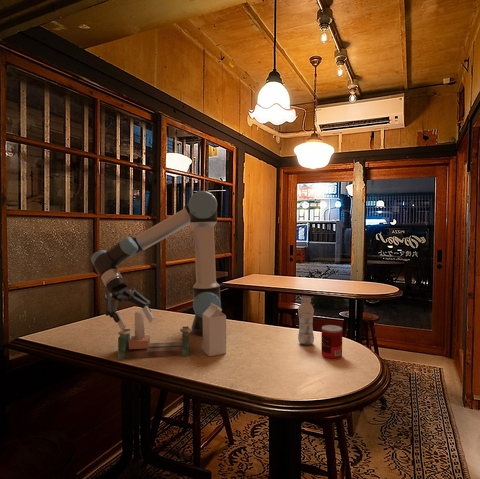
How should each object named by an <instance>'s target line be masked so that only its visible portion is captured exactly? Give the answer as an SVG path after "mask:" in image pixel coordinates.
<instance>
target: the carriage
mask: <svg viewBox="0 0 480 479" xmlns="http://www.w3.org/2000/svg"><path fill="white" fill-rule="evenodd" d="M150 336H151V335H149V334H145V314H144V312H143V311H136V312H134V335H131V336H130V341H129V349H144V348H148V347H149V344H150V343H151V337H150Z"/></svg>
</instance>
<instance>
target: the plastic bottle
mask: <svg viewBox="0 0 480 479" xmlns="http://www.w3.org/2000/svg"><path fill="white" fill-rule="evenodd" d="M311 302H312V299H311V296H308V295H304V296H301V303H300V304H299V306H298V307H297V308H298V309H297V311H298V312H297V313H298V322H299V328H298V329H299V330H298V334H297V339H298V342H299V344H301V345H304V346H305V345H306V346H307V345H308V346H309V345H312V344H314V341H315V335H314V329H313V321H314V311H315V308H314V307H313V305H312V303H311Z"/></svg>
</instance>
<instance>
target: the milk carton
mask: <svg viewBox="0 0 480 479" xmlns="http://www.w3.org/2000/svg"><path fill="white" fill-rule="evenodd" d="M222 311H223V309H222V307H221V308H220V307H218V306H216V305H214V304H212V303H211V306H210V307H209V308H208V309H207V310H206V311H205V312H204V313H203V336H202V352H203V353H205V354H206V355H207V356H208V357H213V356H219V355H224V354H227V315H226V314H225V313H223V312H222Z"/></svg>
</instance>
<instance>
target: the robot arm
mask: <svg viewBox="0 0 480 479" xmlns="http://www.w3.org/2000/svg"><path fill="white" fill-rule="evenodd" d="M216 224H218V201H217V198H216V197H215V196H214V194H213V193H211V192H209V191H206V190H199V191H196V192H195V193H193V194H192V195H191V197H190V198H189V200H188V203H187V204H185V205H184V206H183V208H182V209H181V210H180V211H178V212H176V213H174V214H173V215H170V216H169V217H167V218H165V219H164V220H162V221H160V222H158V223H156V224H155V225H153V226H152V227H149V228H147V229H146V230H144V231H142V232H141V233H139V234H137V235H135V236H133V237H132V238H131V237H130V236H126V237H124V238H123V239H121V240H120V241H118V242H117V243H116V244H115V245H114V246H113V247H111V248H110V249H108V250H105V249H101V250H98V251H95V252H94V253H93V254H92V255H91V257H90V258H91V259H90V260H91V263H92V265H93V267H94V270H95V271H96V272H97V274H98V275H99V277H100V279H101V281H102V283H103V285H104V286H105V289H106V290H107V291H106V293H105V294H104V296H103V298H104V300H105V307H104V308H105V316H106V317H109V318H112V319H113V320H114V322H115V323H116V324H117V325H118V327H119V329H120V331H123V330H124V329H126V327H127V324H126V322H125V321H124V319H123V318H122V315H121V314H120V312H119V311H117V310H118V306H119V303H122V302H131V303H133V304H134V305H135V306H136V305H137V306H139V308H141V310H142V311H141V312H144V317H146V319H147V321H148V322H149V323H152V321H153V320H154V319H155V317H154V315H153V314H152V310H151V309H150V307H149V305H150V304H151V301H150V300H149V299H147V298H146V297H145V296H144V295H143V294H141V293H140V292H139V291H137V289H136V288H135V287H132V288H130V289H129V288H128V285H127V282H126V281H125V279H124V278H123V276H122V274H121V272H120V271H119V268H117V267H118V266H119V265H121V264H122V263H123V262H125V261H126V260H127V259H129V258H134V257H135V256H138V254H140V253H141V252H143V251H144V250H147V249H149V248H150V247H152V246H154V245H156V244H157V243H159V242H161V241H163V240H164V239H166V238H168V237H170V236H172V235H174V234H175V233H176V232H179V231H180V230H182V229H184V228H185V227H187V226H190V225H191V226H192V227H193V233H194V238H193V239H194V259H195V260H194V261H195V281H196V282H195V283H194V284H193V286H192V295H193V301H192V308H193V311H194V317H193V318H194V319H193V321H192V324H191V328H190V329H191V331H190V332H191V333H192V334H194V335H197V336H201V337H203V313H204V312H205V311H206V310H207V309H208V308H209V307H210V306H211V303H212V304H214V305H216V306H218V307H220V308H221V309H222V302H221V285H220V283H218V282H217V272H216V270H217V269H216V268H217V267H216V247H215V241H216V240H215V226H216ZM112 299H113V305H112Z"/></svg>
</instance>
